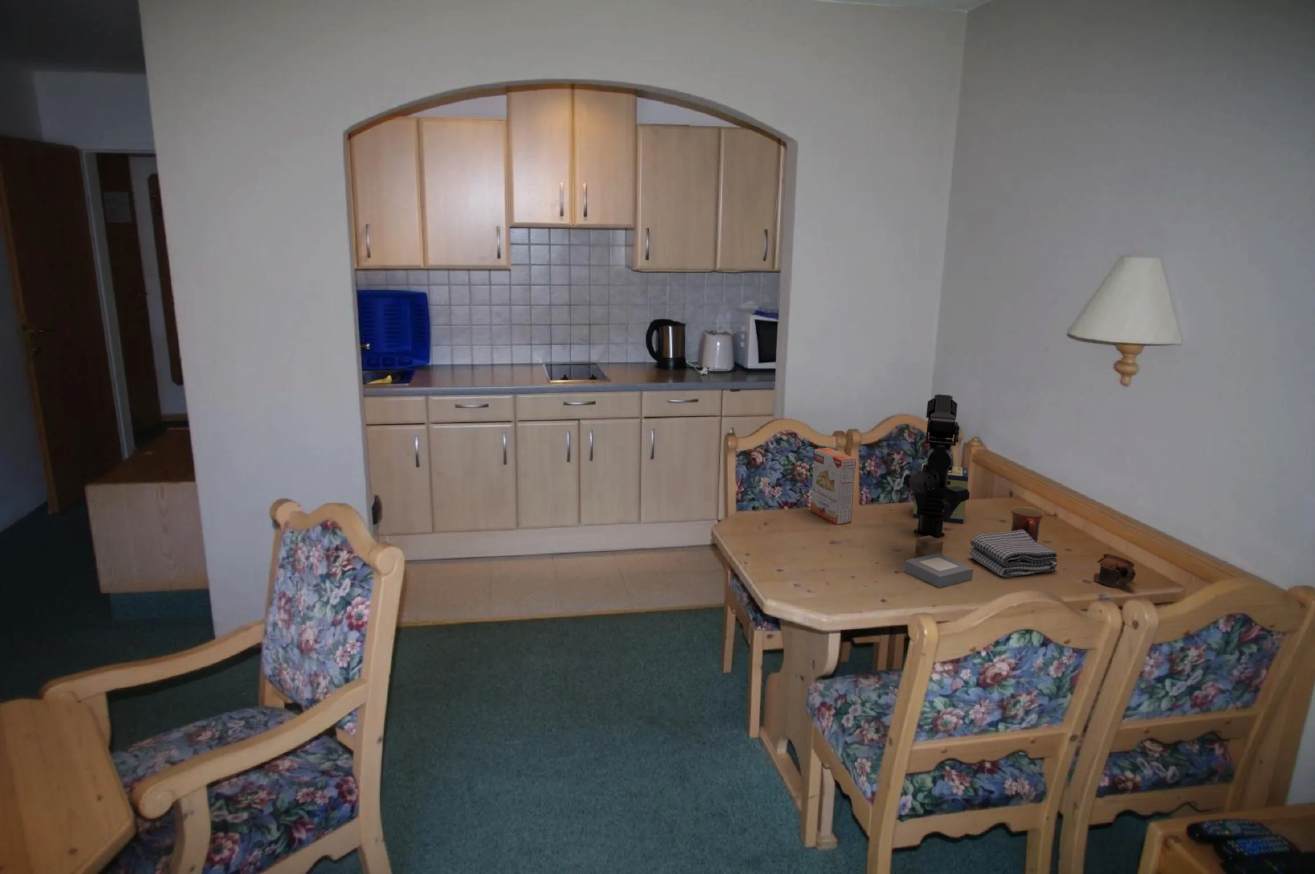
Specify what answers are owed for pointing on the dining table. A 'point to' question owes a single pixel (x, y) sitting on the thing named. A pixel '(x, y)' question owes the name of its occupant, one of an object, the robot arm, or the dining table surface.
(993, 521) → the dining table surface
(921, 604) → the dining table surface
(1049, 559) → the towel
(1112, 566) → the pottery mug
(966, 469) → the protein box
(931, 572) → the pedestal
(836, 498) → the cracker box
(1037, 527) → the mug
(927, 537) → the walnut cube
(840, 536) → the dining table surface
